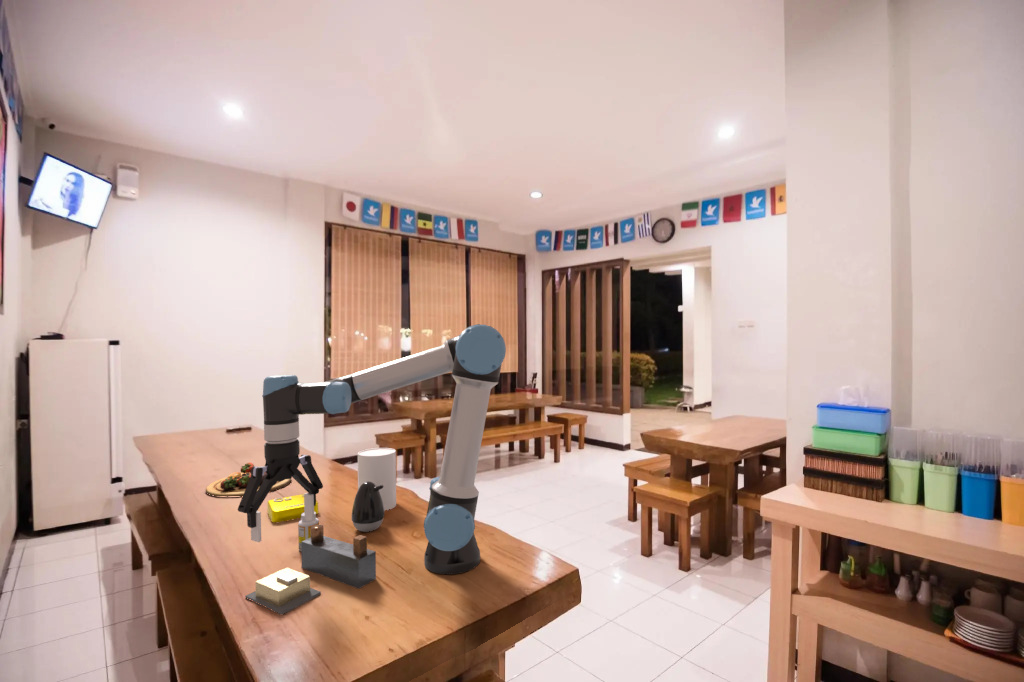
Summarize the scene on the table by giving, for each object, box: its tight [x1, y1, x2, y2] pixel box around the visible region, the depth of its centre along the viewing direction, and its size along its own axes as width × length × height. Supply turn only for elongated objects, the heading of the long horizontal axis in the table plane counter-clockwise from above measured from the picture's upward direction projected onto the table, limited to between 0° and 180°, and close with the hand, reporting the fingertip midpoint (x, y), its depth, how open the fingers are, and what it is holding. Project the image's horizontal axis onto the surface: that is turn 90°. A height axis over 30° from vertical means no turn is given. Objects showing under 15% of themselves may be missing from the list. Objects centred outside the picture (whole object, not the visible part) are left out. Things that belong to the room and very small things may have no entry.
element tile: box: [266, 493, 319, 524], centre depth 168 cm, size 15×15×5 cm
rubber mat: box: [244, 587, 322, 616], centre depth 112 cm, size 14×10×1 cm
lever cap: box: [255, 567, 311, 607], centre depth 112 cm, size 9×8×4 cm
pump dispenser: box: [351, 482, 385, 533], centre depth 153 cm, size 10×10×15 cm
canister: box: [357, 447, 397, 512], centre depth 174 cm, size 14×14×20 cm
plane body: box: [301, 524, 377, 589], centre depth 123 cm, size 22×6×11 cm, turn 59°
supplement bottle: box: [297, 512, 320, 552], centre depth 138 cm, size 6×6×10 cm
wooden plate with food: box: [205, 462, 292, 496], centre depth 202 cm, size 32×32×8 cm
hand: (284, 530), depth 112 cm, fingers open, 13 cm apart
